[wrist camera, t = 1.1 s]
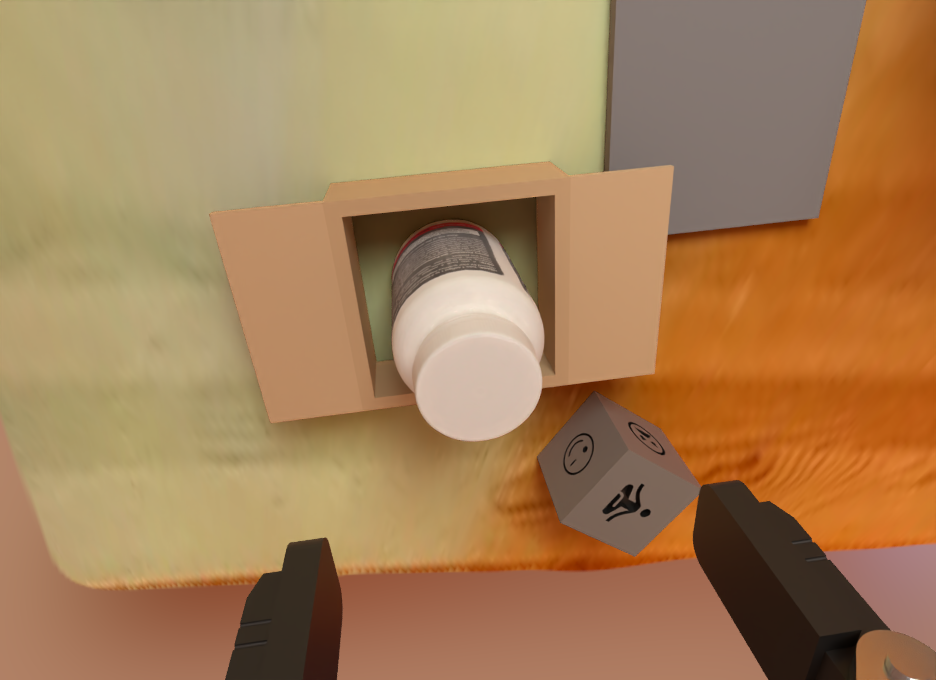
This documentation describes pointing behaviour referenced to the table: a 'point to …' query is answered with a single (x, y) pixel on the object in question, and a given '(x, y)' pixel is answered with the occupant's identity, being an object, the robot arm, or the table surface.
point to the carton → (557, 201)
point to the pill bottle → (465, 331)
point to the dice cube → (615, 476)
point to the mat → (730, 102)
